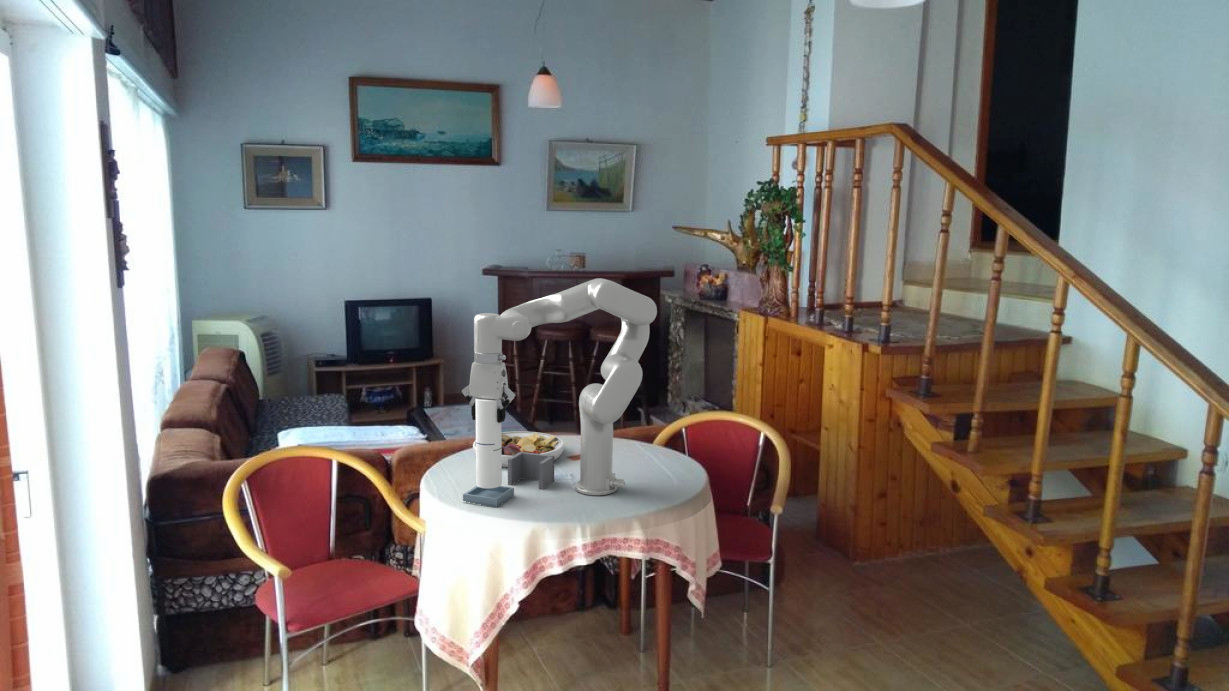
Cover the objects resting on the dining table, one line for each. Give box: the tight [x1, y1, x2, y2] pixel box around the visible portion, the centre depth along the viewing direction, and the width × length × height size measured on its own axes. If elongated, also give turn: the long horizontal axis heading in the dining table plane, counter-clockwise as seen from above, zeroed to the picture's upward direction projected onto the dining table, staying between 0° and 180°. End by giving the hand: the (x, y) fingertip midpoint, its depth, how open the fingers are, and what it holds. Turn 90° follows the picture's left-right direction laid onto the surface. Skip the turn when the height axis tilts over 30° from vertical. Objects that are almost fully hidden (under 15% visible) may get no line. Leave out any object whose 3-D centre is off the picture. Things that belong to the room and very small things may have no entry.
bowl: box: [472, 431, 565, 469], centre depth 279 cm, size 30×30×8 cm
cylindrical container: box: [475, 398, 503, 488], centre depth 235 cm, size 7×7×25 cm
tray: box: [462, 485, 515, 508], centre depth 238 cm, size 11×11×2 cm
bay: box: [507, 452, 555, 491], centre depth 252 cm, size 11×8×8 cm
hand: (488, 419), depth 234 cm, fingers closed on cylindrical container, 7 cm apart
